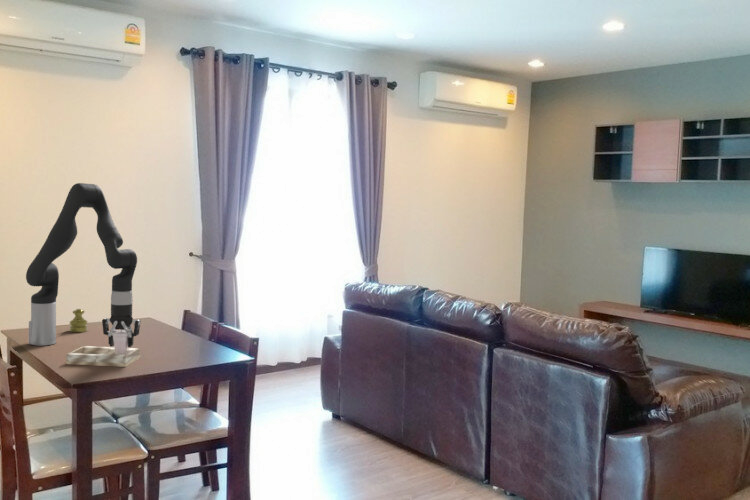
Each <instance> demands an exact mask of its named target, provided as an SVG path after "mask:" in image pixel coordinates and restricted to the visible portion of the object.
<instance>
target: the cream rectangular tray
mask: <svg viewBox="0 0 750 500" xmlns="http://www.w3.org/2000/svg"><path fill="white" fill-rule="evenodd" d="M140 358H141V348H137V347H136V348H135V347H127V353H126V355H122V354H115V349H114V346H92V345H82V346H81V347H79V348H76V349H74V350H73V351H70V352H68V353H66V356H65V359H66V360H65V361H66V363H65V364H66V365H78V366H98V367H99V366H101V367H102V366H103V367H118V368H119V367H121V368H123V367H124V368H126V367H128V366H129V365H131V364H133V363H134V362H136V361H137V360H139V359H140Z"/></svg>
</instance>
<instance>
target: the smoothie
mask: <svg viewBox="0 0 750 500" xmlns="http://www.w3.org/2000/svg"><path fill="white" fill-rule="evenodd" d="M112 335H113V341H114V346H113V347H114V349H115V354H122V355H126V353H127V348H128V338H129V336H128V333H126V331H125V330H122V329H119V330H116V331H114V332H112Z"/></svg>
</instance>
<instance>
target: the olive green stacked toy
mask: <svg viewBox="0 0 750 500" xmlns="http://www.w3.org/2000/svg"><path fill="white" fill-rule="evenodd" d="M85 312H86V311H85V310H84V309H81V308H76V309H75V310H73V311H72V314H73V315H74V317H73V319H72V320H70V321H69V332H70V333H85V332H87V331H88V325H87V324H88V321H87V320H86V319H85V318H84V317H83V314H85Z"/></svg>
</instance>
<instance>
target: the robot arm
mask: <svg viewBox="0 0 750 500" xmlns="http://www.w3.org/2000/svg"><path fill="white" fill-rule="evenodd" d="M105 197H106V196H105V194H104V192H103V190H102V188H101V187H100V186H99V185H98V184H95V183H84V182H78V183H75V184H73V185H72V186H71V188H70V189H69V192H68V194H67V196H66V198H65V202H64V203H63V206H62V209H61V212H60V213H59V215H58V217H57V219H56V221H55V223H54V225H52V227H51V230H50V231H49V233H48V235H47V238H46V239H45V241H44V243H43V245H42V247H41V248H40V250H39V252H38V253H37V255H36V256H35V257H34V259H33V260H32V261H31V263H30V264H29V266H28V267H27V270H26V273H25V280H26V282H27V284H28V285H29V286H31V287H41V288H40V290H38V291H37V292H36V293H33V294H32V295H31V297H30V320H29V321H28V345H32V346H39V347H41V346H50V345H51V346H52V345H55V344H56V343H57V297H58V294H59V282H60V281H59V279H60V278H59V276H60V275H59V274H60V273H59V269H58V266H57V265H56V264H55V263H53V262H54V261H55V260H56V259H58V258H59V257H62V256H63V254H65V253H66V252H67V251H68V250H69V249H70V248H71V247H72V245H73V244H74V241H75V240H76V238H77V236H78V226H77V222H76V216H77V215H78V212H79V211H80V210H81V208H90V209H91V208H92V209H93V210H94V212H95V213H96V215H97V222H96V233H97V236H98V238H99V239H100V241H101V243H102V245H103V248H104V252H105V257H106V262H107V264H108V266H109V267H110V268H113V269H114V270H117V269H121V271H120V272H119V273H118V274H115V275H113V276H112V277H111V278H112V279H111V294H110V317H109V318H108V317H105V318H102V320H101V323H102V333H103V335H104V336H107V337H108V345H109V347H114V341H113V335H112V332H114V331H118V330H121V329H122V330H125V331H126V333H128V336H129V338H128V346H127V348H133V347H132V346H133V345H134V338H135V337H137V336H139V334H140V328H141V319H134V318H133V301H134V300H133V277H134V275H135V271H136V268H137V264H138V255H137V254H136V251H134V250H133V249H130V248H126V249H123V248H122V249H119V248H121V247H122V246H123V244H124V239H123V237H122V236H121V234H120V232H119V230H118V228H117V226H116V225H115V223H114V220H113V219H112V218H113V217H112V215H111V213H110V210H109V209H110V208H109V206H108V204H107V203H108V202H107V200H106V198H105ZM110 324H111V325H112V326H111V327H109V325H110ZM132 324H133V326H134V328H133V327H132Z"/></svg>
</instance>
